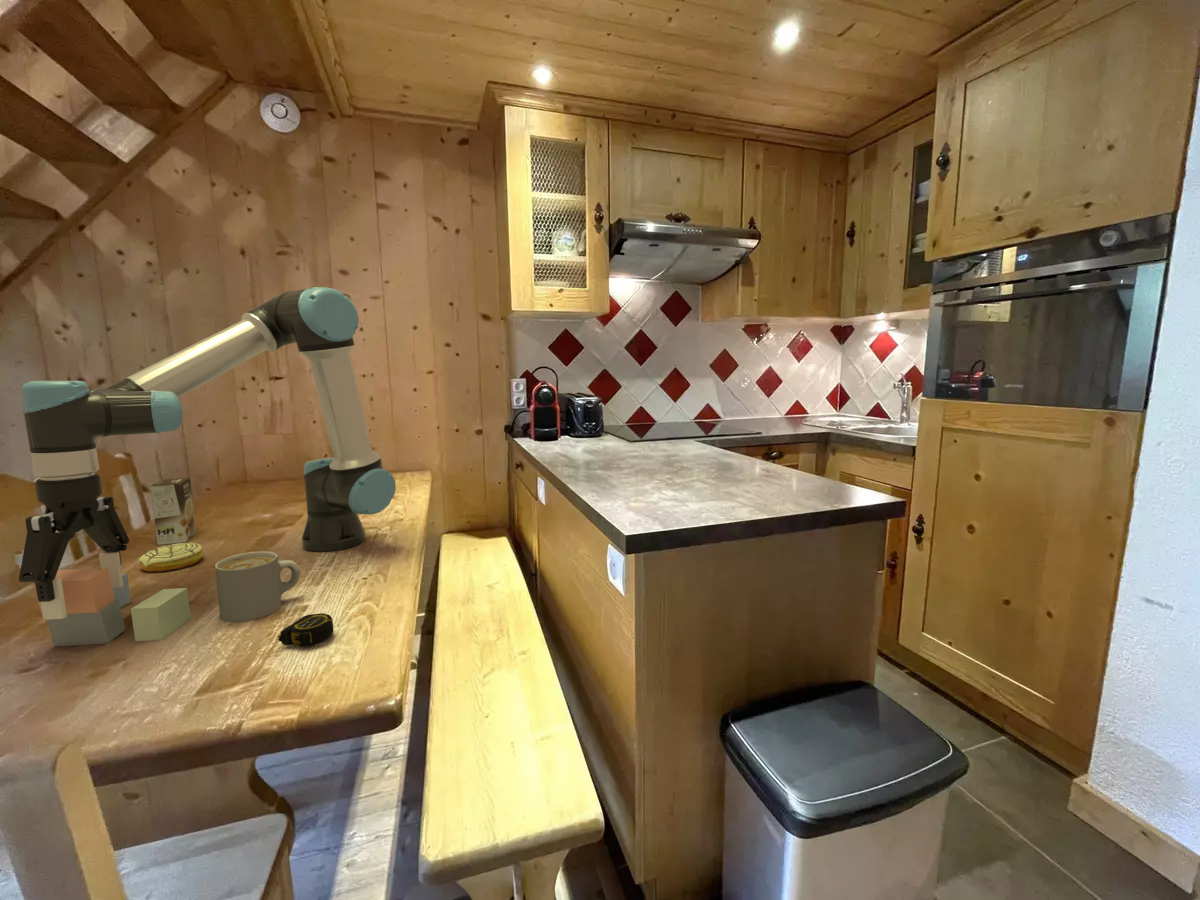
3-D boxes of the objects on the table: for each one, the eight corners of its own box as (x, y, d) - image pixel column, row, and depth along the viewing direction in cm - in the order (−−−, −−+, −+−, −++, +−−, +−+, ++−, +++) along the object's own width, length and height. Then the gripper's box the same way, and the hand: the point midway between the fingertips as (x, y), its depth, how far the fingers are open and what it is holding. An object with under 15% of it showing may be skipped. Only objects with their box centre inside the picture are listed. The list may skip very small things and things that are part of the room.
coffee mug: (218, 626, 93) (212, 574, 92) (222, 605, 102) (216, 557, 100) (303, 609, 100) (299, 560, 99) (300, 590, 109) (296, 545, 107)
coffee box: (187, 542, 138) (180, 483, 136) (156, 545, 135) (149, 485, 133) (196, 532, 146) (190, 477, 144) (168, 535, 144) (161, 478, 141)
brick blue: (130, 602, 103) (127, 573, 102) (115, 611, 99) (111, 581, 98) (85, 604, 102) (81, 575, 101) (68, 613, 98) (63, 583, 97)
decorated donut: (142, 563, 124) (140, 546, 123) (203, 553, 131) (201, 537, 130) (139, 578, 115) (136, 560, 114) (205, 566, 122) (203, 549, 122)
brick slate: (125, 629, 91) (118, 599, 90) (108, 643, 87) (100, 611, 86) (74, 632, 90) (65, 601, 89) (54, 646, 86) (45, 614, 85)
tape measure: (308, 629, 93) (307, 610, 92) (342, 633, 92) (341, 613, 91) (279, 649, 86) (277, 628, 86) (315, 653, 85) (313, 632, 85)
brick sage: (167, 619, 96) (163, 589, 95) (190, 618, 97) (187, 588, 96) (135, 641, 88) (130, 608, 87) (161, 640, 89) (157, 607, 88)
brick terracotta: (115, 599, 89) (107, 568, 88) (96, 612, 86) (88, 579, 84) (62, 602, 88) (54, 570, 87) (41, 615, 85) (32, 582, 83)
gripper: (99, 463, 96) (115, 575, 99) (-36, 492, 73) (-10, 638, 76) (145, 462, 97) (158, 574, 100) (25, 491, 74) (48, 635, 77)
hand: (86, 601), depth 88 cm, fingers open, 11 cm apart
